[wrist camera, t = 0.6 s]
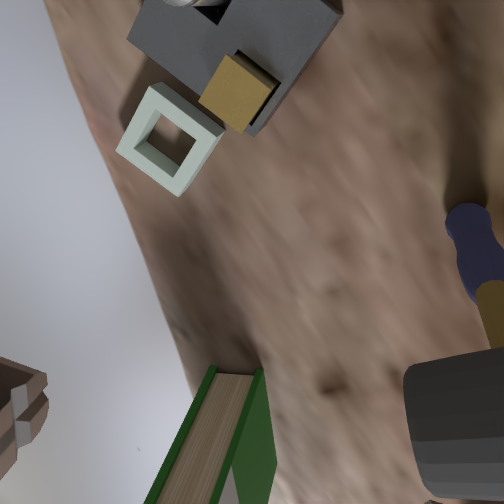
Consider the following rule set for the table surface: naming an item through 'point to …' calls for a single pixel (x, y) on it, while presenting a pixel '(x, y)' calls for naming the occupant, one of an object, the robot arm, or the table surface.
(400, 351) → the table surface
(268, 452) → the hardback book
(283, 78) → the socket block
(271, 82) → the gold rectangular block
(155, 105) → the pale green square frame
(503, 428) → the rubber mallet
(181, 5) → the metal cylindrical peg
